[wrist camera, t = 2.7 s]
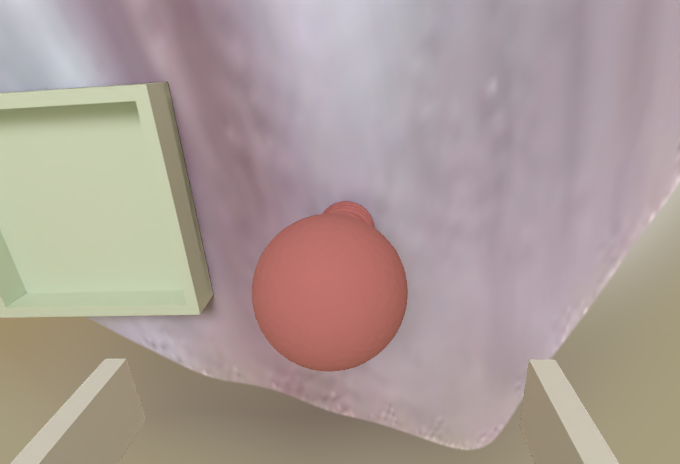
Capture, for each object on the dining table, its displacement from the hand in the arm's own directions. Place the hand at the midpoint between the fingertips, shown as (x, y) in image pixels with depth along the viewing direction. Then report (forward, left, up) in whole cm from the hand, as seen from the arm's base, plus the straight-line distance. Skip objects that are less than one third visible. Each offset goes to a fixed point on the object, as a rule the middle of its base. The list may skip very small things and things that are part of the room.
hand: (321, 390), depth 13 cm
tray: (-17, +2, -14) cm, 23 cm away
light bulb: (0, 0, -15) cm, 15 cm away
